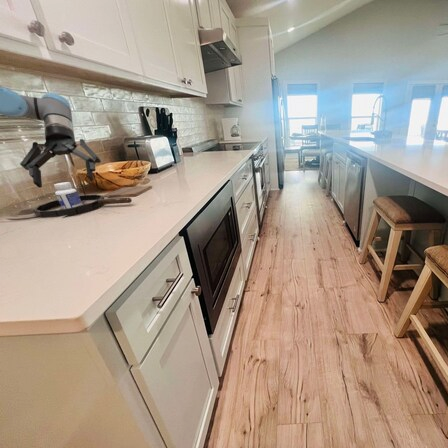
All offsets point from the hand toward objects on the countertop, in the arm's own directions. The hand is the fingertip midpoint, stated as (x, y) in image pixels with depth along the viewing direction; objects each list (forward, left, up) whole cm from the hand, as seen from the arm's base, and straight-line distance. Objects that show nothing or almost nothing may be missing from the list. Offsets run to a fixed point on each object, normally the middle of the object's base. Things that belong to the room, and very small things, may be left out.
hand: (65, 181), depth 79 cm
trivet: (+9, +16, -9) cm, 20 cm away
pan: (+6, -2, -9) cm, 11 cm away
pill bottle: (+1, -2, -9) cm, 9 cm away
